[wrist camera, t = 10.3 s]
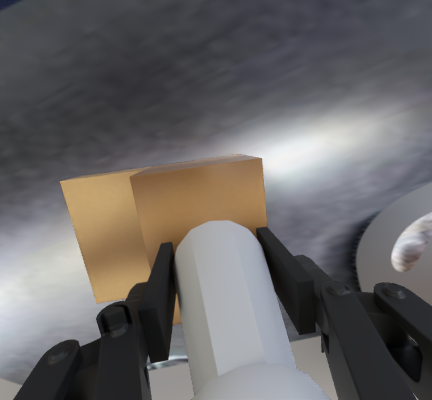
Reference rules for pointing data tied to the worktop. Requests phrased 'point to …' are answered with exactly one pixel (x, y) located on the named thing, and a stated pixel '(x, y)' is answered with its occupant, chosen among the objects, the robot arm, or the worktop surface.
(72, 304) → the worktop surface
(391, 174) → the worktop surface
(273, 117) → the worktop surface
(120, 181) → the stepped wooden block
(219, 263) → the salt shaker
